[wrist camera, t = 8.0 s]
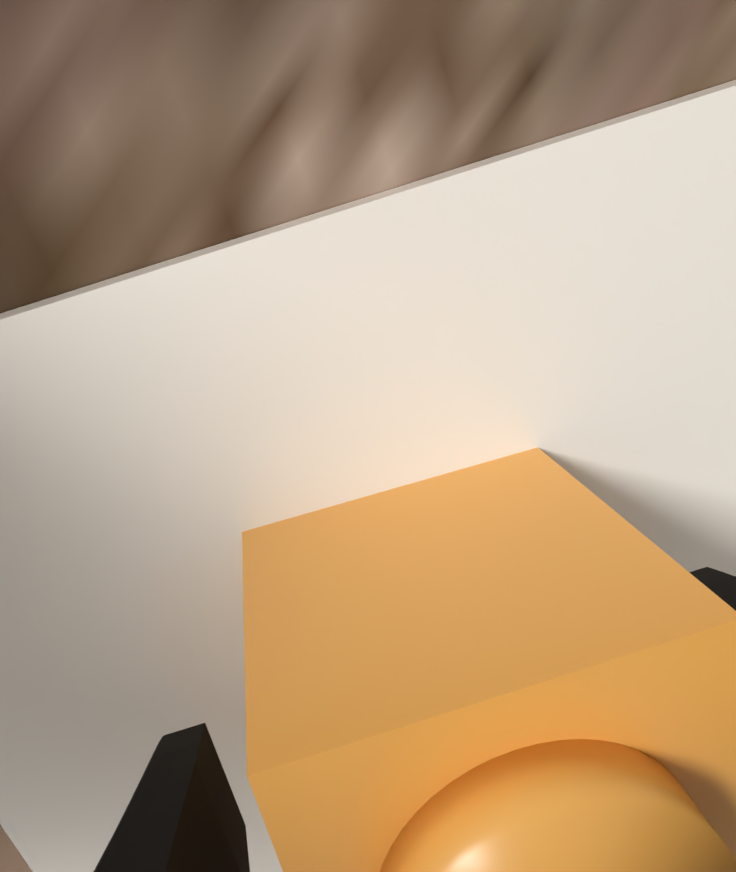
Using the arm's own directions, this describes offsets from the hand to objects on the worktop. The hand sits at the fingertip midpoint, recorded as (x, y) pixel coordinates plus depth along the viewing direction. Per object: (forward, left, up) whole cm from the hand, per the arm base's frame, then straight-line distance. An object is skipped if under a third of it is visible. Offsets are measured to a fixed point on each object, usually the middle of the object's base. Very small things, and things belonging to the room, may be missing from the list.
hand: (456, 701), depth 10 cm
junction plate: (0, 0, -3) cm, 3 cm away
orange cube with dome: (0, 0, -2) cm, 2 cm away
